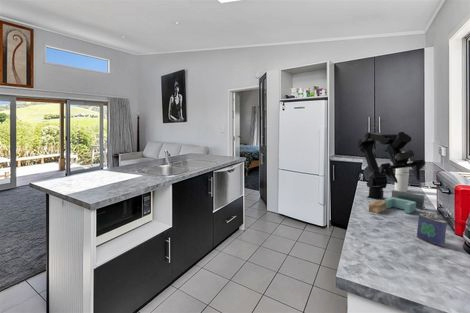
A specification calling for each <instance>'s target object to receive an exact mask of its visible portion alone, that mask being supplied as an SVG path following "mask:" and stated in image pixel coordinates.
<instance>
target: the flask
mask: <svg viewBox="0 0 470 313" xmlns="http://www.w3.org/2000/svg"><path fill="white" fill-rule="evenodd" d="M435 216H436V213H435V212H428V214H427V213H419V214H418V219H417V231H416V238H417V239H419V240H422V241H423V242H426V243H429V244H431V245H434V246H437V247H439V248H444V247H445V246H446V232H447V225H448V224H447V223H448V222H447V221H445V220H442V219H439V218H435Z"/></svg>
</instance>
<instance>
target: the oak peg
mask: <svg viewBox="0 0 470 313" xmlns="http://www.w3.org/2000/svg"><path fill="white" fill-rule="evenodd" d="M386 209H387V208H386V202H384V201H383V200H380V199H379V200H378V199H376V200H375V201H373V202H370V203H368V212H370V213H373V214H374V213H375V214H379V213H381V212H383V211H385V210H386Z"/></svg>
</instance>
